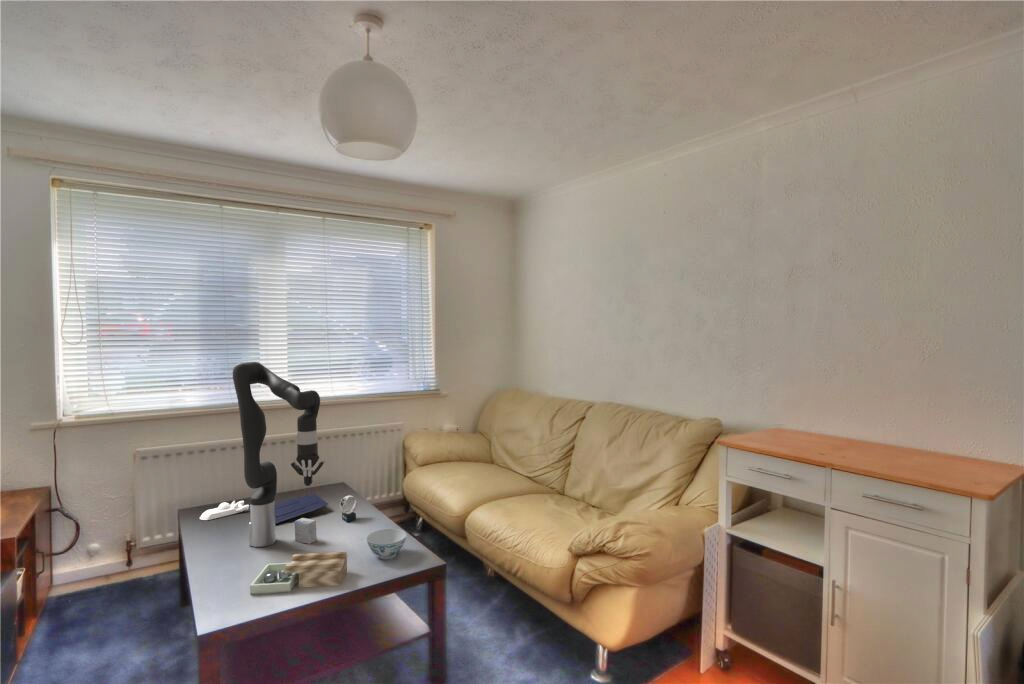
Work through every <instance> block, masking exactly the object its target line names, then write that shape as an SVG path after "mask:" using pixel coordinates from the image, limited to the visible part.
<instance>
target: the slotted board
mask: <svg viewBox="0 0 1024 684" xmlns="http://www.w3.org/2000/svg"><path fill="white" fill-rule="evenodd" d="M347 560H348V555H347V551H331V552H314V553H313V552H312V553H294V554H293V555H292V558H291V562H289V563H290V564H286V566H285V574H291V573H299V579H298V587H299V588H309V587H310V588H312V587H327V586H341V585H342V583H343V581H344V579H345V577H346V574H347V573H348V565H347V564H348V561H347Z"/></svg>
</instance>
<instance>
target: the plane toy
mask: <svg viewBox="0 0 1024 684" xmlns="http://www.w3.org/2000/svg"><path fill="white" fill-rule="evenodd" d="M249 509H250V505H249V504H245V501H244V500H239V501H237V502H236V500H233V501H232V502H231V503H228V502H225V501H224V502H221V503H220V504H219V505H218V507H215V508H210V509H207V510H205V511H204V512H202V514H201V515H200V516H199V520H201V521H209V520H210V521H211V520H215V519H217V518H218V519H220V518H223V517H227V516H231V515H234V514H239V513H242V512H244V511H247V510H249Z"/></svg>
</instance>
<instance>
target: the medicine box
mask: <svg viewBox="0 0 1024 684" xmlns="http://www.w3.org/2000/svg"><path fill="white" fill-rule="evenodd" d="M317 534H318V533H317V520H315V519H310V518H306V517H301V518H299V519H297V520H294V541H295V542H297V543H298V542H299V543H303V544H308V545H310V544H312V543H314V542H316V541H317V539H318V536H317Z"/></svg>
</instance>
